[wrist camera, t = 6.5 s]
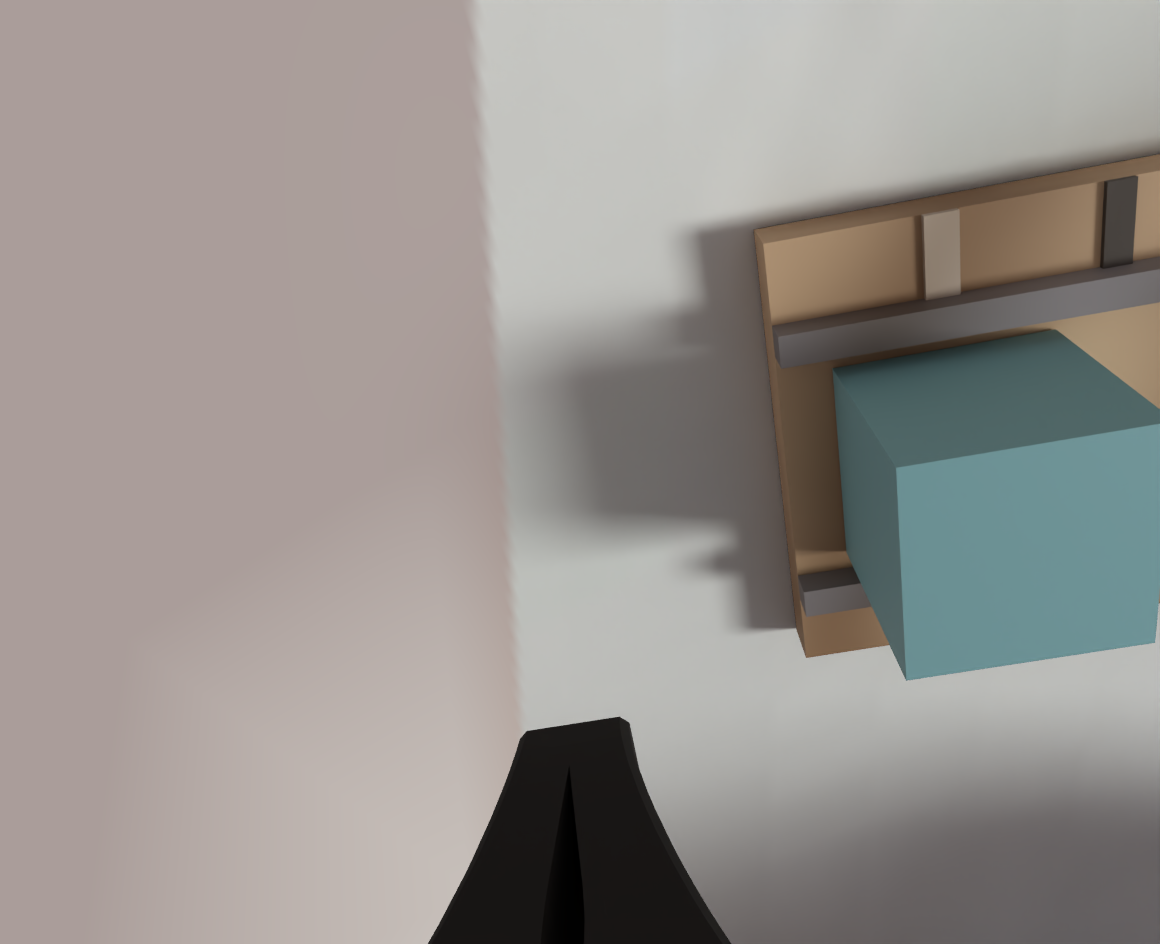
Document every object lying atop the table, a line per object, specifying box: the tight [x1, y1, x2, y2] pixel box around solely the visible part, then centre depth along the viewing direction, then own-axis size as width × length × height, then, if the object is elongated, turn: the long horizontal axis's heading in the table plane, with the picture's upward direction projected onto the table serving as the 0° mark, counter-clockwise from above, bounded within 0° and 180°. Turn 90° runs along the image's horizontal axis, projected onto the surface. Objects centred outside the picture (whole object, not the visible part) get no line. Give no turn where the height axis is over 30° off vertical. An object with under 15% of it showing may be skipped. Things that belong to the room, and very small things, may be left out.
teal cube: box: [832, 329, 1160, 681], centre depth 17 cm, size 4×4×4 cm
